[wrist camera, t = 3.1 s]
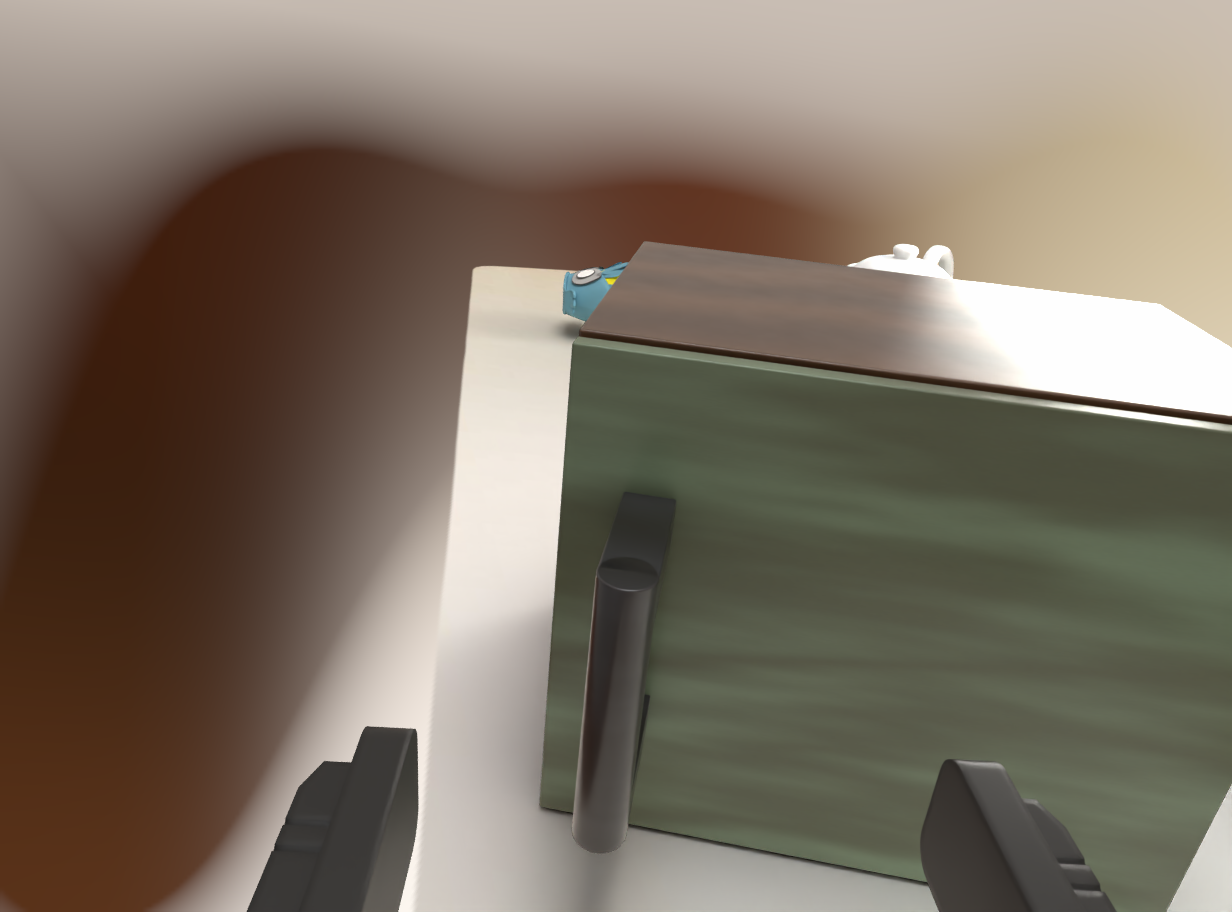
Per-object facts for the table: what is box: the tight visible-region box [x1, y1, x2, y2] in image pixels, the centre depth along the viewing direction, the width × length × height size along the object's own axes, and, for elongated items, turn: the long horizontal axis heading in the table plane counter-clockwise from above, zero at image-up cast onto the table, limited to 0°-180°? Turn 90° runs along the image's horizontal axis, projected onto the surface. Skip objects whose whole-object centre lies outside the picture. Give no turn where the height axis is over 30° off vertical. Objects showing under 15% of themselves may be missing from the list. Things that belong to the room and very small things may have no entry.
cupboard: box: [579, 242, 1232, 425], centre depth 38 cm, size 16×24×20 cm, turn 81°
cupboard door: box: [539, 337, 1232, 912], centre depth 28 cm, size 7×24×20 cm, turn 81°
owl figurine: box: [563, 262, 628, 321], centre depth 94 cm, size 28×9×15 cm
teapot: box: [848, 244, 954, 279], centre depth 90 cm, size 19×18×14 cm
